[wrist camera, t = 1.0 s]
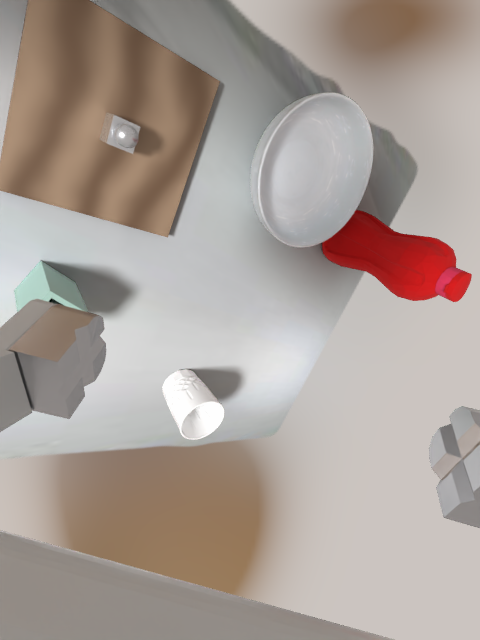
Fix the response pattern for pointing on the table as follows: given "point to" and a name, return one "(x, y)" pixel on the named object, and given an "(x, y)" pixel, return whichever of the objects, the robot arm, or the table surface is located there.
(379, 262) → the water bottle
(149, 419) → the table surface
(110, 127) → the post
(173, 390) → the white cup
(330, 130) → the serving bowl
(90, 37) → the board
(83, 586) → the robot arm
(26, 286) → the sleeve
